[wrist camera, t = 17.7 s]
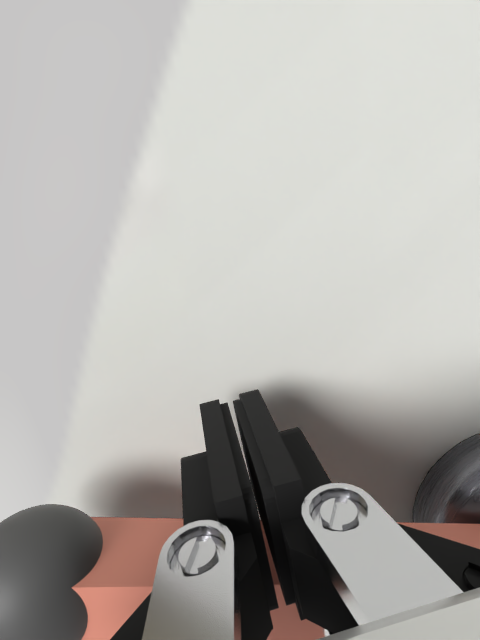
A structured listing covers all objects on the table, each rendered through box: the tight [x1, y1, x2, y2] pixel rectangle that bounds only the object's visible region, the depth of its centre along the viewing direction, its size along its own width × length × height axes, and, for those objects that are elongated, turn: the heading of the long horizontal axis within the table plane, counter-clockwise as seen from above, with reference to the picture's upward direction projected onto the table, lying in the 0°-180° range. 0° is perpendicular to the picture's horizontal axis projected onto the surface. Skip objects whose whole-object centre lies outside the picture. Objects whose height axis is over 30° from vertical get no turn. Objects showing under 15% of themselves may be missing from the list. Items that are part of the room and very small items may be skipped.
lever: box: [0, 504, 480, 640], centre depth 11 cm, size 19×4×3 cm, turn 81°
